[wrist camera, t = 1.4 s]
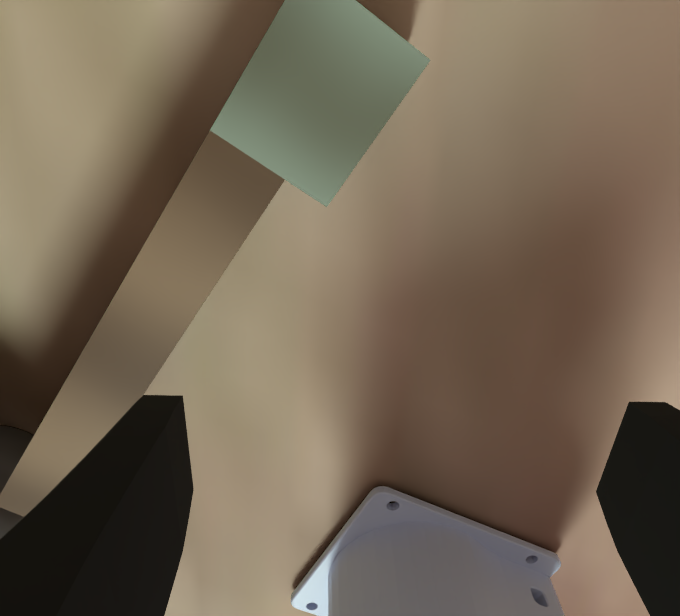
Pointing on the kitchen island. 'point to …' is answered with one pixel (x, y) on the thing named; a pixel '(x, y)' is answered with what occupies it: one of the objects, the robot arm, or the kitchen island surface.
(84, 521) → the robot arm
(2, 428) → the fixed tong arm
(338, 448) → the kitchen island surface
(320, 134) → the bar
